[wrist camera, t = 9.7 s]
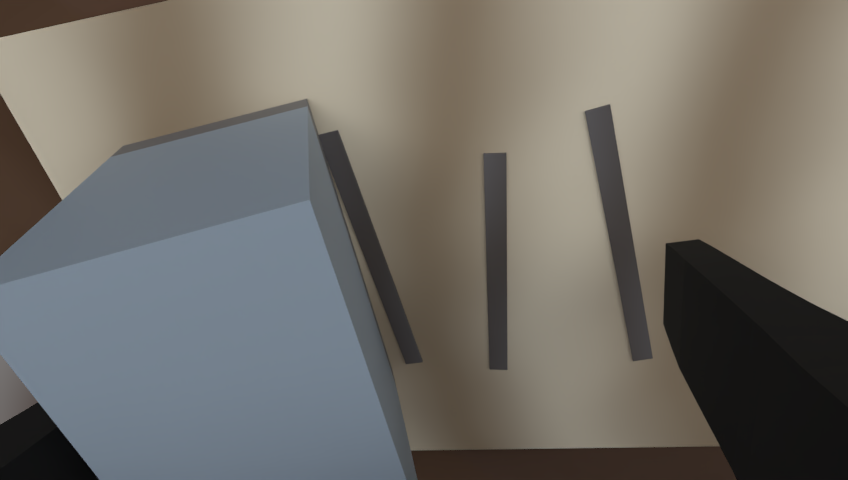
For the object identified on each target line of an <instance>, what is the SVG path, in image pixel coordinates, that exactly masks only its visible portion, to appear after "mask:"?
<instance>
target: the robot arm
mask: <svg viewBox="0 0 848 480" xmlns="http://www.w3.org/2000/svg"><path fill="white" fill-rule="evenodd" d="M663 325H664V328H665V331H666V334H667V336H668V339H669V342H670V345H671V348H672V350H673V353H674V356H675V358H676V361H677V364H678V366H679V369H680V371H681V373H682V375H683V377H684V379H685V381H686V382H687V384H688V386H689V388H690V390H691V392H692V394H693V396H694V398H695V400H696V402H697V404H698V406H699V407H700V409H701V411H702V413H703V415H704V417H705V419H706V421H707V423H708V424H709V426H710V428H711V430H712V432H713V434H714V436H715V438H716V440H717V442H718V443H719V445H720V447H721V449H722V451H723V453H724V455H725V457H726V459H727V460H728V462H729V464H730V466H731V468H732V470H733V472H734V474H735V476H736V479H737V480H848V321H847V320H845V319H843V318H841V317H839V316H837V315H835V314H832V313H830V312H828V311H826V310H824V309H822V308H820V307H818V306H816V305H814V304H813V303H811V302H809V301H807V300H805V299H803V298H801V297H799V296H798V295H796V294H794V293H792V292H790V291H788V290H787V289H785V288H783V287H781V286H779V285H778V284H776V283H774V282H772V281H770V280H769V279H767V278H765V277H764V276H762V275H760V274H758V273H757V272H755V271H753V270H751V269H750V268H748V267H746V266H745V265H743V264H741V263H740V262H738V261H736V260H735V259H733V258H731V257H729V256H728V255H726V254H724V253H723V252H721V251H719V250H718V249H716V248H714V247H712V246H711V245H709V244H707V243H705V242H703V241H701V240H699V239H696V240H688V241H680V242H672V243H666V249H665V281H664V312H663ZM0 480H99V479H98V477H97V476H96V475H95V473H94V472H93V471H92V470H91V468H90V467H89V466H88V465H87V463H86V462H85V461H84V460H83V458H82V457H81V456H80V454H79V453H78V452H77V451H76V449H75V448H74V447H73V446H72V444H71V443H70V442H69V441H68V439H67V438H66V437H65V435H64V434H63V433H62V432H61V430H60V429H59V428H58V427H57V425H56V424H55V423H54V422H53V420H52V419H51V418H50V416H49V415H48V414H47V413H46V411H45V410H44V409H43V408H42V406H41V405H40V404H39V403H36V404H35V405H33V406H31V407H30V408H28V409H26V410H25V411H23V412H21V413H20V414H18V415H16V416H14V417H13V418H11V419H9V420H8V421H6V422H4V423H3V424H1V425H0Z"/></svg>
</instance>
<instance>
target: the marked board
mask: <svg viewBox="0 0 848 480" xmlns="http://www.w3.org/2000/svg"><path fill="white" fill-rule="evenodd" d="M0 94H1V95H2V97H3V99H4V100H5V102H6V104H7V106H8V107H9V109H10V111H11V113H12V114H13V116H14V118H15V119H16V121H17V123H18V125H19V126H20V128H21V130H22V131H23V133H24V135H25V137H26V138H27V140H28V142H29V144H30V145H31V147H32V149H33V150H34V152H35V154H36V156H37V157H38V159H39V161H40V163H41V164H42V166H43V168H44V169H45V171H46V173H47V175H48V176H49V178H50V180H51V181H52V183H53V185H54V187H55V188H56V190H57V192H58V194H59V195H60V197H61V199H62V200H63V199H64V198H66V197H67V196H68V195H69V194H70V193H71V192H72V191H73V190H74V189H76V188H77V187H78V186H79V185H80V184H81V183H82V182H83V181H84V180H86V179H87V178H88V177H89V176H90V175H91V174H92V173H93V172H94V171H96V170H97V169H98V168H99V167H100V166H101V165H102V164H103V163H104V162H106V161H107V160H108V159H109V158H110V157H111V156H112V155H113V154H114V153H115V152H117V151H118V150H119V149H120V148H121V147H122V146H124V145H128V144H132V143H136V142H140V141H144V140H148V139H151V138H155V137H159V136H163V135H167V134H171V133H175V132H179V131H183V130H187V129H190V128H194V127H198V126H202V125H206V124H210V123H214V122H218V121H222V120H225V119H229V118H233V117H237V116H241V115H245V114H249V113H253V112H257V111H261V110H264V109H268V108H272V107H276V106H280V105H284V104H288V103H292V102H296V101H300V100H303V99H307V100H308V103H309V106H310V109H311V112H312V116H313V119H314V122H315V125H316V128H317V131H318V135H319V138H320V141H321V144H322V148H323V151H324V154H325V157H326V160H327V163H328V166H329V170H330V173H331V176H332V179H333V182H334V185H335V189H336V192H337V195H338V198H339V201H340V205H341V208H342V211H343V214H344V217H345V220H346V224H347V227H348V230H349V233H350V236H351V239H352V243H353V246H354V249H355V252H356V255H357V259H358V262H359V265H360V268H361V271H362V274H363V278H364V281H365V284H366V287H367V290H368V293H369V297H370V300H371V303H372V306H373V309H374V313H375V316H376V319H377V322H378V325H379V328H380V332H381V335H382V338H383V341H384V344H385V348H386V351H387V354H388V357H389V360H390V363H391V367H392V370H393V375H394V379H395V383H396V388H397V392H398V397H399V401H400V405H401V410H402V414H403V419H404V423H405V427H406V432H407V436H408V441H409V445H410V449H411V450H482V449H554V448H626V447H698V446H720V445H719V443H718V442H717V440H716V438H715V436H714V434H713V432H712V430H711V428H710V426H709V424H708V423H707V421H706V419H705V417H704V415H703V413H702V411H701V409H700V407H699V406H698V404H697V402H696V400H695V398H694V396H693V394H692V392H691V390H690V388H689V386H688V384H687V382H686V381H685V379H684V377H683V375H682V373H681V371H680V369H679V366H678V364H677V361H676V358H675V356H674V353H673V350H672V348H671V345H670V342H669V339H668V336H667V334H666V331H665V328H664V325H663V312H664V281H665V249H666V243H672V242H680V241H688V240H696V239H699V240H701V241H703V242H705V243H707V244H709V245H711V246H712V247H714V248H716V249H718V250H719V251H721V252H723V253H724V254H726V255H728V256H729V257H731V258H733V259H735V260H736V261H738V262H740V263H741V264H743V265H745V266H746V267H748V268H750V269H751V270H753V271H755V272H757V273H758V274H760V275H762V276H764V277H765V278H767V279H769V280H770V281H772V282H774V283H776V284H778V285H779V286H781V287H783V288H785V289H787V290H788V291H790V292H792V293H794V294H796V295H798V296H799V297H801V298H803V299H805V300H807V301H809V302H811V303H813V304H814V305H816V306H818V307H820V308H822V309H824V310H826V311H828V312H830V313H832V314H835V315H837V316H839V317H841V318H843V319H845V320H847V321H848V0H169V1H164V2H160V3H155V4H151V5H146V6H142V7H137V8H133V9H128V10H124V11H119V12H115V13H110V14H105V15H101V16H96V17H92V18H87V19H83V20H78V21H74V22H69V23H65V24H60V25H56V26H51V27H47V28H42V29H38V30H33V31H29V32H24V33H20V34H15V35H11V36H6V37H2V38H0Z"/></svg>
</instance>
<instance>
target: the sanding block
mask: <svg viewBox="0 0 848 480" xmlns="http://www.w3.org/2000/svg"><path fill="white" fill-rule="evenodd" d="M0 354H1V356H2V357H3V358H4V359H5V361H6V362H7V363H8V365H9V366H10V367H11V368H12V370H13V371H14V372H15V373H16V375H17V376H18V377H19V378H20V380H21V381H22V382H23V383H24V385H25V386H26V387H27V388H28V390H29V391H30V392H31V394H32V395H33V396H34V397H35V399H36V400H37V401H38V403H39V404H40V405H41V406H42V408H43V409H44V410H45V411H46V413H47V414H48V415H49V416H50V418H51V419H52V420H53V422H54V423H55V424H56V425H57V427H58V428H59V429H60V430H61V432H62V433H63V434H64V435H65V437H66V438H67V439H68V441H69V442H70V443H71V444H72V446H73V447H74V448H75V449H76V451H77V452H78V453H79V454H80V456H81V457H82V458H83V460H84V461H85V462H86V463H87V465H88V466H89V467H90V468H91V470H92V471H93V472H94V473H95V475H96V476H97V477H98V479H99V480H417V476H416V471H415V467H414V463H413V458H412V454H411V449H410V445H409V441H408V436H407V432H406V427H405V423H404V419H403V414H402V410H401V405H400V401H399V397H398V392H397V388H396V383H395V379H394V375H393V370H392V367H391V363H390V360H389V357H388V354H387V351H386V348H385V344H384V341H383V338H382V335H381V332H380V328H379V325H378V322H377V319H376V316H375V313H374V309H373V306H372V303H371V300H370V297H369V293H368V290H367V287H366V284H365V281H364V278H363V274H362V271H361V268H360V265H359V262H358V259H357V255H356V252H355V249H354V246H353V243H352V239H351V236H350V233H349V230H348V227H347V224H346V220H345V217H344V214H343V211H342V208H341V205H340V201H339V198H338V195H337V192H336V189H335V185H334V182H333V179H332V176H331V173H330V170H329V166H328V163H327V160H326V157H325V154H324V151H323V148H322V144H321V141H320V138H319V135H318V131H317V128H316V125H315V122H314V119H313V116H312V112H311V109H310V106H309V103H308V100H307V99H303V100H300V101H296V102H292V103H288V104H284V105H280V106H276V107H272V108H268V109H264V110H261V111H257V112H253V113H249V114H245V115H241V116H237V117H233V118H229V119H225V120H222V121H218V122H214V123H210V124H206V125H202V126H198V127H194V128H190V129H187V130H183V131H179V132H175V133H171V134H167V135H163V136H159V137H155V138H151V139H148V140H144V141H140V142H136V143H132V144H128V145H124V146H122V147H121V148H120V149H119V150H118V151H117V152H115V153H114V154H113V155H112V156H111V157H110V158H109V159H108V160H107V161H106V162H104V163H103V164H102V165H101V166H100V167H99V168H98V169H97V170H96V171H94V172H93V173H92V174H91V175H90V176H89V177H88V178H87V179H86V180H84V181H83V182H82V183H81V184H80V185H79V186H78V187H77V188H76V189H74V190H73V191H72V192H71V193H70V194H69V195H68V196H67V197H66V198H64V199H63V200H62V201H61V202H60V203H59V204H58V205H57V206H56V207H54V208H53V209H52V210H51V211H50V212H49V213H48V214H47V215H46V216H44V217H43V218H42V219H41V220H40V221H39V222H38V223H37V224H36V225H34V226H33V227H32V228H31V229H30V230H29V231H28V232H27V233H26V234H24V235H23V236H22V237H21V238H20V239H19V240H18V241H17V242H16V243H14V244H13V245H12V246H11V247H10V248H9V249H8V250H7V251H6V252H4V253H3V254H2V255H1V256H0Z"/></svg>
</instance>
